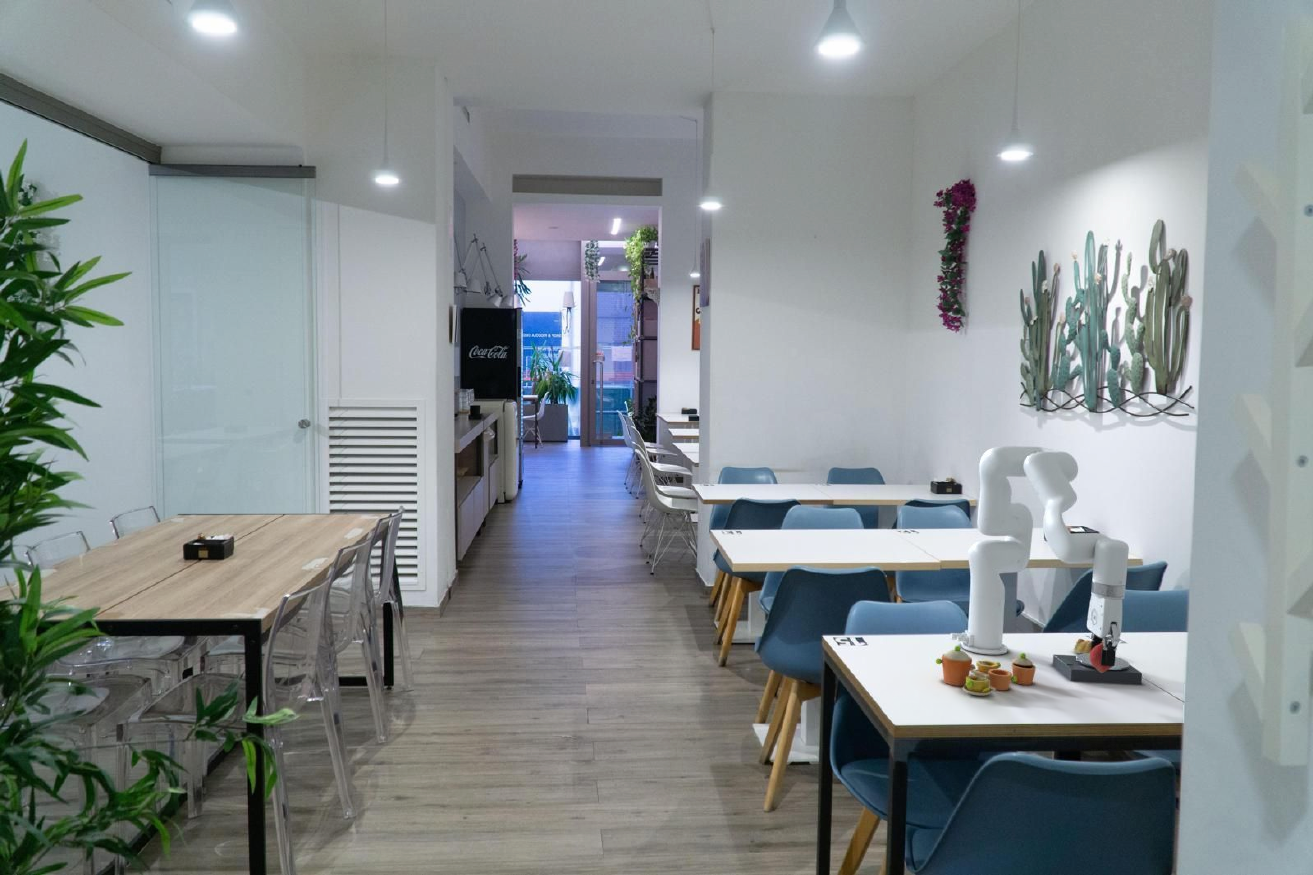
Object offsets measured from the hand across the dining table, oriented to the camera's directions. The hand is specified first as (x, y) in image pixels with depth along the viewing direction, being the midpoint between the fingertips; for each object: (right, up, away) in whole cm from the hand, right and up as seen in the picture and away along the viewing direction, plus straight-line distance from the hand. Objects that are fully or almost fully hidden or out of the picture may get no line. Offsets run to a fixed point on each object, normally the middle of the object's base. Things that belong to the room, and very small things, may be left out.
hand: (1102, 660), depth 245 cm
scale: (+7, -8, +20) cm, 22 cm away
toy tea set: (-26, -8, +8) cm, 28 cm away
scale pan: (+9, -5, +19) cm, 22 cm away
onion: (0, -3, 0) cm, 3 cm away
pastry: (+14, -7, +39) cm, 42 cm away
